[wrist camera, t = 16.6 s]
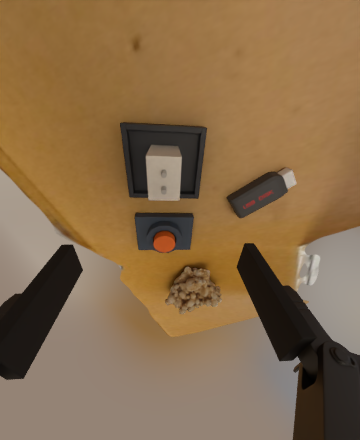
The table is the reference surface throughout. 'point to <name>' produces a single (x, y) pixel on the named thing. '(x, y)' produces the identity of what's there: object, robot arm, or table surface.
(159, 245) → the button
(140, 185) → the cradle
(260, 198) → the usb drive
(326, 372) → the robot arm
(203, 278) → the mineral formation
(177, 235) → the switch block
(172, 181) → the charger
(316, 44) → the table surface
